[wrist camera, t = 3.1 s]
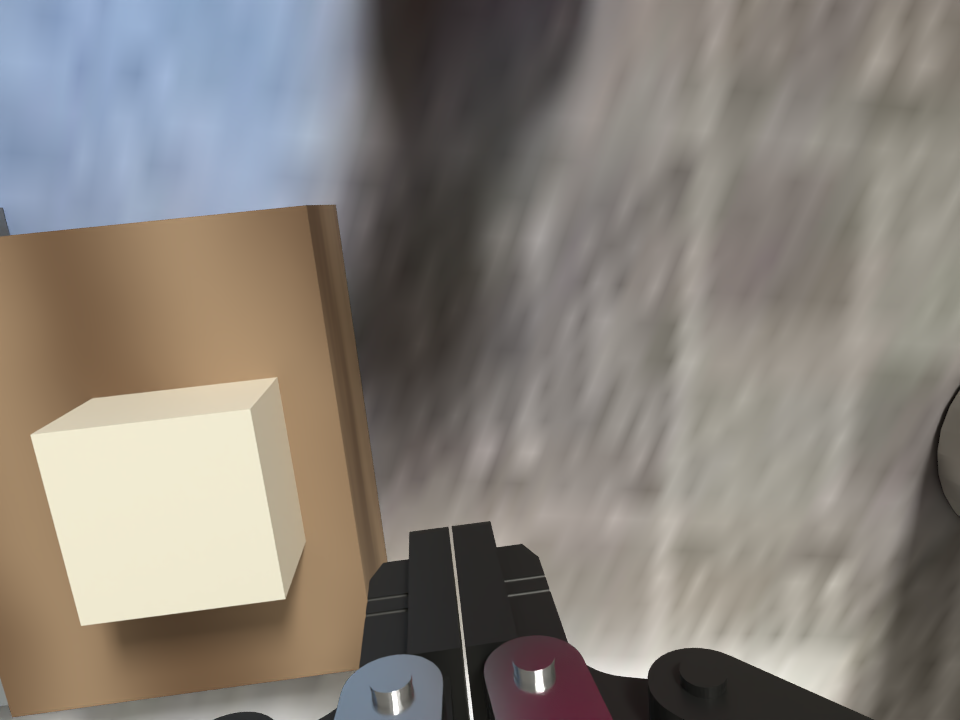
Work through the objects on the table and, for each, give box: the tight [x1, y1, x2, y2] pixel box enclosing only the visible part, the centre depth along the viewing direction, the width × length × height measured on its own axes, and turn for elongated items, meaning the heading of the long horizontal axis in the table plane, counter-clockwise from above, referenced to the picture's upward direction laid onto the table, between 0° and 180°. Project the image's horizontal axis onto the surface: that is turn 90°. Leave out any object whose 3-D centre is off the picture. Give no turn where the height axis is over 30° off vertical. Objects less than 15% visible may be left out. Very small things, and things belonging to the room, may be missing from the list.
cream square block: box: [30, 377, 306, 626], centre depth 18 cm, size 5×5×3 cm
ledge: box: [0, 205, 387, 717], centre depth 22 cm, size 11×14×6 cm
